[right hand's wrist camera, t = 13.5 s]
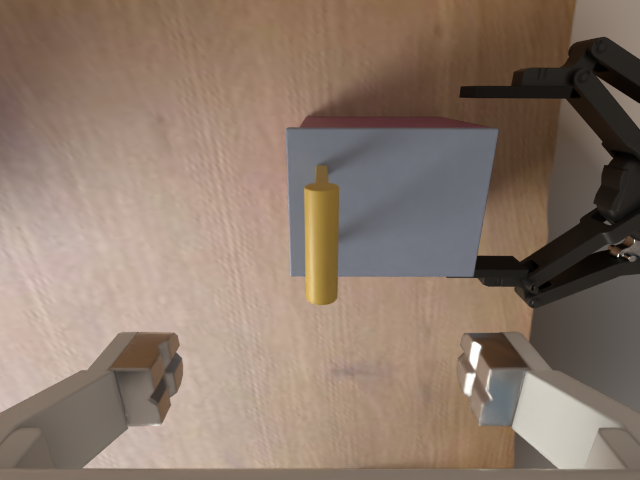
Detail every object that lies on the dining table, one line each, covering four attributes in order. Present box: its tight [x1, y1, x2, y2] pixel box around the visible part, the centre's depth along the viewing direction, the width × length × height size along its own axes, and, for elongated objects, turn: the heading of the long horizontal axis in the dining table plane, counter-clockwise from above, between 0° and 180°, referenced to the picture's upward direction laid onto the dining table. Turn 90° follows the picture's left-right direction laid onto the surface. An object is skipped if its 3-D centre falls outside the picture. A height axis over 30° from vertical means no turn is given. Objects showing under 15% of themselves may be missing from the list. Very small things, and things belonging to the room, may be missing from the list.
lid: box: [286, 127, 499, 305], centre depth 21 cm, size 13×10×8 cm
